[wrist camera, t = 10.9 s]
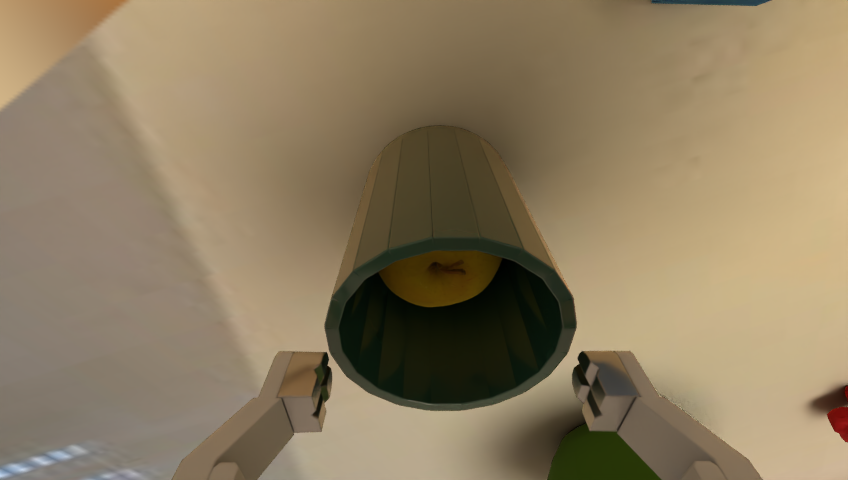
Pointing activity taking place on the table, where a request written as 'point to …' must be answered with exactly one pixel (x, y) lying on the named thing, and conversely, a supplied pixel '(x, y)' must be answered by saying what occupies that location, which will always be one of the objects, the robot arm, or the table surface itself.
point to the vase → (597, 458)
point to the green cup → (461, 322)
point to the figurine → (840, 419)
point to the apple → (440, 276)
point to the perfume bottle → (713, 2)
